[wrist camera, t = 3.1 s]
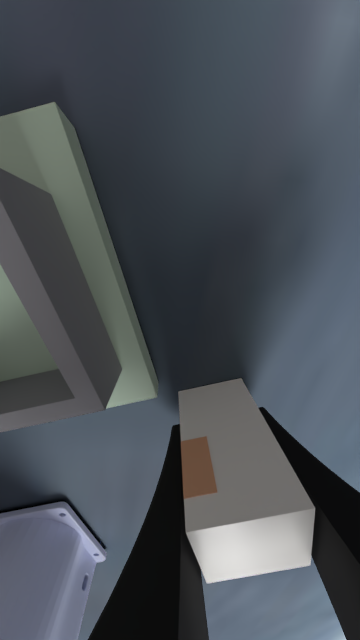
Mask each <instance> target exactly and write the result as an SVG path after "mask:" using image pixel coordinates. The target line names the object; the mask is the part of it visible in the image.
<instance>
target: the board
mask: <svg viewBox="0 0 360 640" xmlns="http://www.w3.org/2000/svg"><path fill="white" fill-rule="evenodd" d="M158 383H159V382H158V379H157V376H156V373H155V370H154V367H153V364H152V361H151V358H150V355H149V352H148V349H147V346H146V343H145V340H144V337H143V334H142V331H141V328H140V325H139V322H138V319H137V316H136V313H135V310H134V307H133V303H132V300H131V297H130V294H129V291H128V288H127V285H126V282H125V279H124V276H123V273H122V270H121V267H120V264H119V261H118V258H117V255H116V252H115V249H114V246H113V243H112V240H111V237H110V234H109V231H108V228H107V225H106V222H105V219H104V216H103V213H102V210H101V207H100V203H99V200H98V197H97V194H96V191H95V188H94V185H93V182H92V179H91V176H90V173H89V170H88V167H87V164H86V161H85V158H84V155H83V152H82V149H81V146H80V143H79V140H78V137H77V134H76V131H75V128H74V127H73V125H72V124H71V123H70V121H69V120H68V119H67V117H66V116H65V115H64V113H63V112H62V111H61V109H60V108H59V107H58V106H57V104H56V103H55V102H52V103H48V104H44V105H41V106H37V107H34V108H30V109H26V110H23V111H19V112H15V113H12V114H8V115H4V116H1V117H0V432H5V431H9V430H14V429H19V428H23V427H28V426H33V425H37V424H42V423H47V422H52V421H56V420H61V419H66V418H70V417H75V416H80V415H84V414H89V413H94V412H99V411H103V410H105V409H106V408H110V407H115V406H119V405H124V404H129V403H133V402H138V401H143V400H147V399H152V398H157V394H158Z"/></svg>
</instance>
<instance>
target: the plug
mask: <svg viewBox="0 0 360 640" xmlns="http://www.w3.org/2000/svg"><path fill="white" fill-rule="evenodd" d="M178 396H179V415H180V434H181V457H182V476H183V496H184V510H185V529H186V534H187V537H188V539H189V542H190V544H191V546H192V549H193V551H194V554H195V556H196V558H197V561H198V563H199V565H200V568H201V570H202V573H203V575H204V577H205V580H206V582H207V584H208V583H213V582H219V581H225V580H230V579H236V578H242V577H247V576H253V575H259V574H264V573H270V572H276V571H281V570H287V569H293V568H298V567H304V566H310V563H311V552H312V541H313V530H314V519H315V507H314V505H313V503H312V501H311V500H310V498H309V496H308V494H307V493H306V491H305V489H304V487H303V486H302V484H301V482H300V480H299V479H298V477H297V475H296V473H295V472H294V470H293V468H292V466H291V465H290V463H289V461H288V459H287V458H286V456H285V454H284V452H283V451H282V449H281V447H280V445H279V444H278V442H277V440H276V438H275V437H274V435H273V433H272V431H271V430H270V428H269V426H268V424H267V422H266V421H265V419H264V417H263V415H262V414H261V412H260V410H259V408H258V407H257V405H256V403H255V401H254V400H253V398H252V396H251V394H250V393H249V391H248V389H247V387H246V386H245V384H244V382H243V380H242V379H241V378H239V379H234V380H229V381H225V382H220V383H215V384H211V385H206V386H201V387H197V388H192V389H187V390H183V391H178Z"/></svg>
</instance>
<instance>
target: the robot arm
mask: <svg viewBox="0 0 360 640" xmlns="http://www.w3.org/2000/svg"><path fill="white" fill-rule="evenodd" d="M259 410H260V412H261V414H262V415H263V417H264V419H265V421H266V422H267V424H268V426H269V428H270V430H271V431H272V433H273V435H274V437H275V438H276V440H277V442H278V444H279V445H280V447H281V449H282V451H283V452H284V454H285V456H286V458H287V459H288V461H289V463H290V465H291V466H292V468H293V470H294V472H295V473H296V475H297V477H298V479H299V480H300V482H301V484H302V486H303V487H304V489H305V491H306V493H307V494H308V496H309V498H310V500H311V501H312V503H313V505H314V507H315V519H314V530H313V541H312V552H311V555H312V558H313V560H314V563H315V565H316V567H317V570H318V572H319V574H320V577H321V579H322V581H323V584H324V586H325V589H326V591H327V593H328V596H329V598H330V601H331V603H332V605H333V608H334V610H335V613H336V615H337V617H338V620H339V622H340V625H341V627H342V630H343V632H344V635H345V637H346V639H347V640H360V493H359V492H358V491H357V490H355V489H354V488H353V487H351V486H350V485H349V484H347V483H346V482H345V481H344V480H342V479H341V478H340V477H339V476H337V475H336V474H335V473H334V472H332V471H331V470H330V469H329V468H327V467H326V466H325V465H324V464H323V463H321V462H320V461H319V460H318V459H317V458H316V457H314V456H313V455H312V454H311V453H310V452H309V451H308V450H306V449H305V448H304V447H303V446H302V445H301V444H300V443H299V442H298V441H297V440H296V439H294V438H293V437H292V436H291V435H290V434H289V433H288V432H287V431H286V430H285V429H284V428H283V427H282V426H281V425H280V424H279V423H278V422H277V421H276V420H275V419H274V418H273V417H272V416H271V415H270V414H269V413H268V412H267V410H266V409H265V408H263V407H260V408H259ZM106 555H107V553H106V551H105V550H104V549H103V547H102V546H101V545H100V544H99V542H98V541H97V540H96V539H95V537H94V536H93V535H92V534H91V532H90V531H89V530H88V529H87V527H86V526H85V525H84V524H83V522H82V521H81V520H80V519H79V517H78V516H77V515H76V514H75V512H74V511H73V510H72V509H71V507H70V506H69V505H68V504H67V503H66V502H56V503H51V504H46V505H41V506H36V507H31V508H25V509H20V510H15V511H10V512H5V513H0V640H77V639H78V635H79V631H80V627H81V623H82V619H83V615H84V610H85V606H86V602H87V598H88V594H89V590H90V586H91V582H92V578H93V573H94V569H95V565H96V563H97V562H102V561H104V560H105V559H106ZM88 640H209V636H208V628H207V620H206V611H205V603H204V595H203V586H202V577H201V569H200V565H199V563H198V561H197V558H196V556H195V554H194V551H193V549H192V546H191V544H190V542H189V539H188V537H187V534H186V529H185V510H184V496H183V476H182V457H181V434H180V424H178V425H173V427H172V431H171V437H170V441H169V446H168V450H167V454H166V458H165V461H164V465H163V469H162V472H161V475H160V478H159V481H158V485H157V488H156V491H155V494H154V497H153V499H152V502H151V505H150V508H149V510H148V513H147V515H146V518H145V521H144V523H143V525H142V528H141V530H140V533H139V535H138V537H137V540H136V542H135V545H134V547H133V549H132V551H131V554H130V556H129V558H128V560H127V562H126V564H125V566H124V569H123V571H122V573H121V575H120V577H119V579H118V581H117V583H116V586H115V588H114V590H113V592H112V594H111V596H110V598H109V600H108V602H107V604H106V606H105V608H104V610H103V612H102V613H101V615H100V617H99V619H98V621H97V623H96V625H95V627H94V629H93V631H92V633H91V635H90V637H89V639H88Z"/></svg>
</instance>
